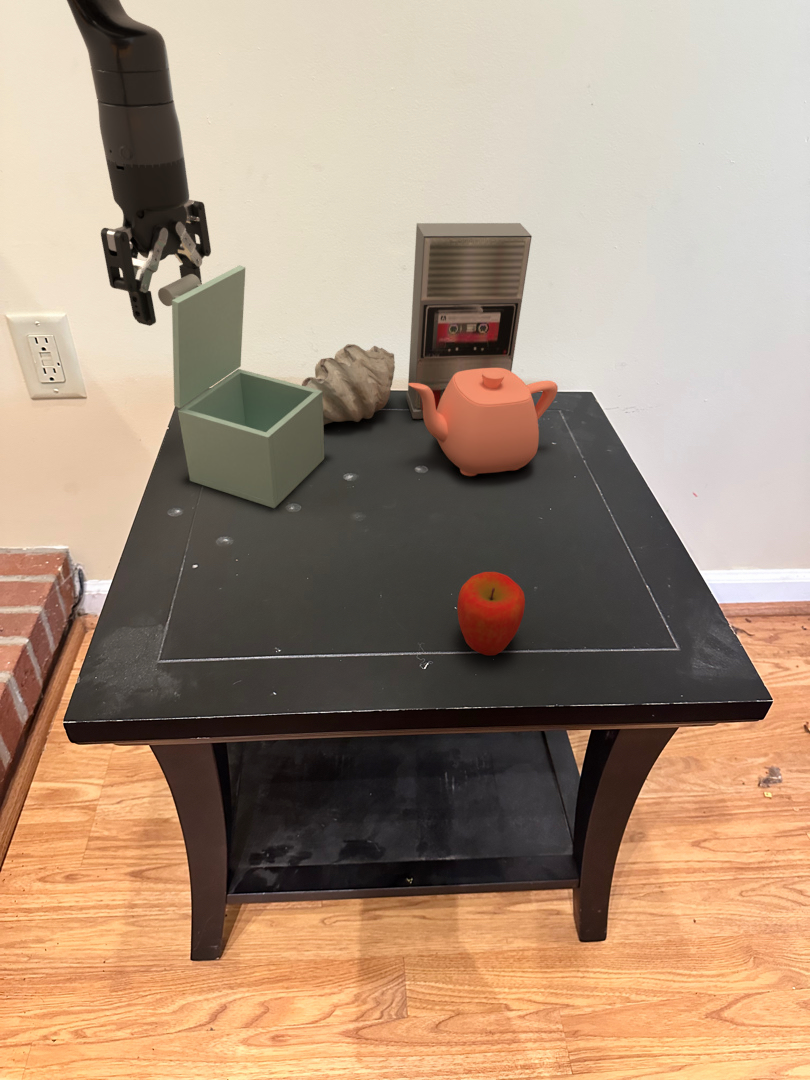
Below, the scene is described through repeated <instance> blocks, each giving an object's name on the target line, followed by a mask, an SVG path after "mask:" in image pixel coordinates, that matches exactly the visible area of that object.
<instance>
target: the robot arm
mask: <svg viewBox="0 0 810 1080" xmlns="http://www.w3.org/2000/svg"><path fill="white" fill-rule="evenodd" d="M66 2H67V5H68V7H69V8H70V11H71V14H72V17H73V19H74V22H75V25H76V27H77V29H78V31H79V33H80V35H81V38H82V40H83V42H84V45H85V47H86V50H87V53H88V59H89V64H90V70H91V74H92V75H91V76H92V80H93V85H94V90H95V91H94V92H95V96H96V100H97V101H96V103H97V109H98V121H99V131H100V136H101V140H102V146H103V151H104V155H105V156H104V157H105V161H106V167H107V171H108V177H109V181H110V186H111V190H112V198H113V200H114V203H115V204H116V205H118V207H119V208H120V210H121V211H122V215H123V217H122V218H123V219H122V226H120V227H117V228H110V227H109V228H108V227H103V228H102V229H101V230H100V239H101V243H102V249H103V255H104V260H105V265H106V266H105V267H106V271H107V276H108V281H109V286H110V287H111V288H112V289H114V290H115V289H116V290H121V291H125V292H127V293H128V297H129V301H130V307H131V312H132V316H133V318H134V320H136V322H137V323H139V324H140V325H145V326H148V327H150V326H153V325H154V324H156V323H157V318H156V312H155V307H154V301H153V294H152V291H151V290H150V286H151V281H152V277H153V274H154V273H156V272H158V269H159V265H160V262H161V261H163V260H165V259H166V258H167V257H168V256H174V257H175V258H176V259H177V261H178V262H179V263H181V264H180V265H178V268H179V274H180V279H181V278H183V277H185V276H187V275H189V274H194V275H196V276H197V277H198V278H199V280H200V282H201V284H203V283H202V274H201V266H202V265H203V259H204V258H205V257H210V255H211V253H212V248H211V241H210V235H209V227H208V220H207V214H206V213H207V212H206V206H205V204H204V202H203V201H198V200H193V199H190V191H189V184H188V182H189V181H188V176H187V168H186V161H185V153H184V146H183V140H182V139H183V138H182V132H181V126H180V121H179V118H178V113H177V110H176V105H175V100H174V93H173V87H172V86H173V85H172V79H171V78H172V77H171V71H170V62H169V55H168V50H167V45H166V41H165V39H164V37H163V34H161V32H159V31H158V30H157V29H156V28H153V27H152V26H150V25H147V24H145V23H142V22H139V21H137V20H135V19H134V18H132V17H131V16H129V14H127V12H126V10H125V9H124V7H123V5H122V3H121V1H120V0H66ZM196 236H198V239H199V240H198V241H199V243H198V242H197V237H196ZM139 255H140V256H141V257H143V258H145V259H139V258H138V256H139ZM139 270H140V274H139V278H137V275H138V272H139ZM121 273H122V276H121Z"/></svg>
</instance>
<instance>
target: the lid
mask: <svg viewBox="0 0 810 1080" xmlns="http://www.w3.org/2000/svg"><path fill="white" fill-rule="evenodd" d="M201 283H202V282H200V280H199V278H198V277H197V276H196V275H194V274H189V275H187V276H185V277H183V278H181V277H180V278H178V279H177V280H174V281H172V282H171V283H168V284H167V285H165V286H163V287H160V288H159V289H158V290H157V296H158V297H157V298H158V300H159V301H160V302H161V304H162V305H163V306H166V307H171V312H172V313H171V316H172V317H171V319H172V320H171V321H172V323H171V325H172V365H173V366H172V367H173V368H172V369H173V370H172V371H173V405H174V407H176V408H178V409H181V408H183V407H184V406H185V405H187V404H188V403H190V402H191V401H193V400H194V399H196V398H197V397H198V396H200V395H201V394H203V393H204V392H206V391H207V390H209V389H210V388H211V387H213V386H214V385H216V384H217V383H219V382H220V381H222V380H223V379H224V378H226V377H227V376H229V375H230V374H232V373H233V372H235V371H236V370H237V369H240V368H241V366H242V348H243V347H242V345H243V329H244V328H243V325H244V306H245V305H244V304H245V286H246V266H242V265H237V266H235V267H234V268H232V269H230V270H227V271H226V272H224V273H222V274H220V275H217V276H216V277H214V278H212V279H209V281H206V282H204V283H202V284H201Z"/></svg>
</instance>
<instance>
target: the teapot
mask: <svg viewBox="0 0 810 1080" xmlns="http://www.w3.org/2000/svg"><path fill="white" fill-rule="evenodd" d="M408 385H409V386H410V387H412V388H414V389H415V390H416V391H418V393H419V394H420V395H421V398H422V403H423V418H422V419H423V423H424V425H425V428H426V430H427V431H428V433H429V434H430V435H431V436H432V437H433V438H435V439H436V441H437V443H438V445H439V447H440V448H441V450H442V451H443V453H444V455H445V456H446V457H447V459H448V460H449V461H450V462H451V463H453V465H455V466H456V467H457V468H459V471H460V473H461V474H462V475H464V476H467V477H475V476H477V475H478V474H491V473H502V472H507V471H508V472H509V471H517V470H520V469H521V468H523V467H525V466H526V465H528V464H529V463H530V462H531V460H533V458H535V456H536V455H537V452H538V448H539V440H540V439H539V438H540V430H539V419H541V417H542V416H543V415H544V413H545V412H546V411H547V410H548V409H549V407H550V406H551V405H552V403H553V402H554V400H555V398H556V396H557V394H558V390H559V387H558V385H557V383H556V382H555V381H553V380H540V381H536V382H532V383H528V384H526V383H525V382H524V381H523V379H521V377H519V376H518V375H517V374H516V373H514V372H512V371H509V370H507V369H504V368H481V369H471V370H464V371H460V372H457V373H456V374H454V375H453V377H452V378H451V380H450V382H449V383H448V385H447V387H446V389H445V391H444V393H443V395H442V397H441V399H440V402H439V404H438V408H437V411H436V406H435V398H434V394H433V392H432V390H431V389H430V388H429V387H428V386H426V385H423V384H419V383H409V384H408V383H407V386H408ZM540 392H541V396H540V397H539V399H538V400H537V402H536V404H535V402H534V399H533V396H532V395H533V394H536V393H540Z"/></svg>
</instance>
